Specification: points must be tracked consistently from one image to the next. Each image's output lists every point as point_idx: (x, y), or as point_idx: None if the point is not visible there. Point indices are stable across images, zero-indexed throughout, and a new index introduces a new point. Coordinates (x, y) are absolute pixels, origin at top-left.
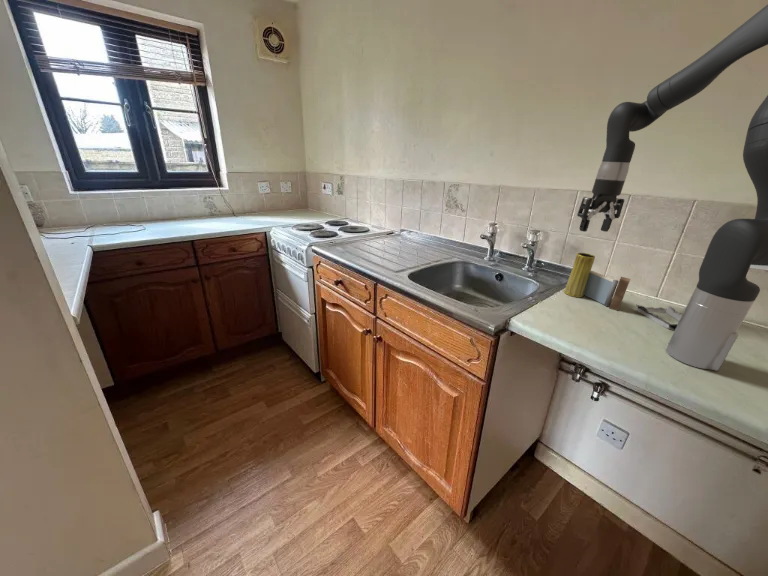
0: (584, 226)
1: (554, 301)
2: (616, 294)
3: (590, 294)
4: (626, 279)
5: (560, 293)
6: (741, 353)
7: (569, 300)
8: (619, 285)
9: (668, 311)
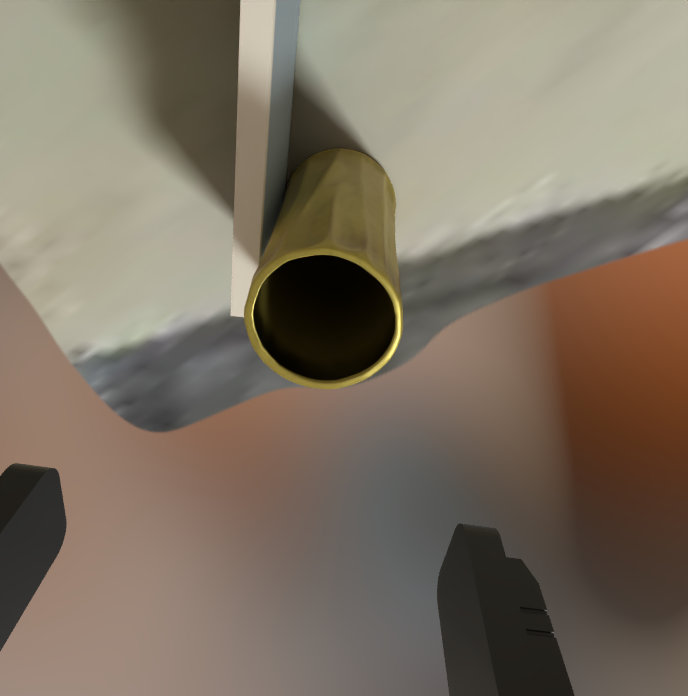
0: (524, 608)
1: (574, 157)
2: None
3: (288, 129)
4: None
5: (415, 236)
6: None
7: (463, 138)
8: None
9: None
